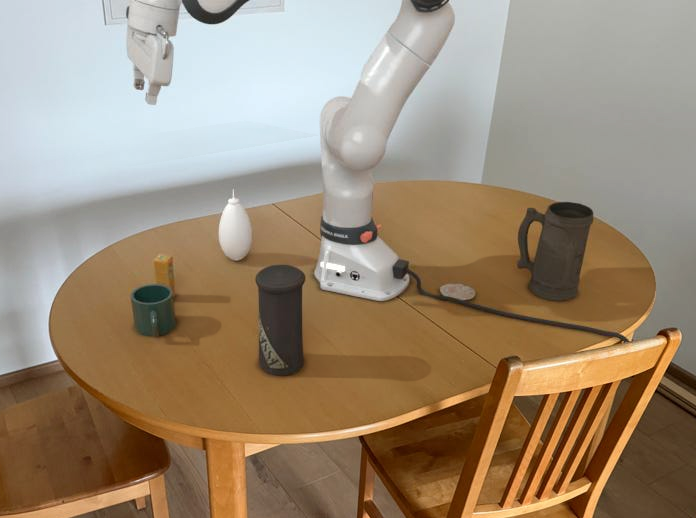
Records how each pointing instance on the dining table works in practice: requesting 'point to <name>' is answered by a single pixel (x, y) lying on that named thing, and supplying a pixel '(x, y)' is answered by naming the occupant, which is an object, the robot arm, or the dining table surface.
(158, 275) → the supplement box
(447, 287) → the flatbread
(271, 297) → the container
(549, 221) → the beer stein
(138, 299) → the teal faceted mug
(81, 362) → the dining table surface
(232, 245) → the white air blower bulb
